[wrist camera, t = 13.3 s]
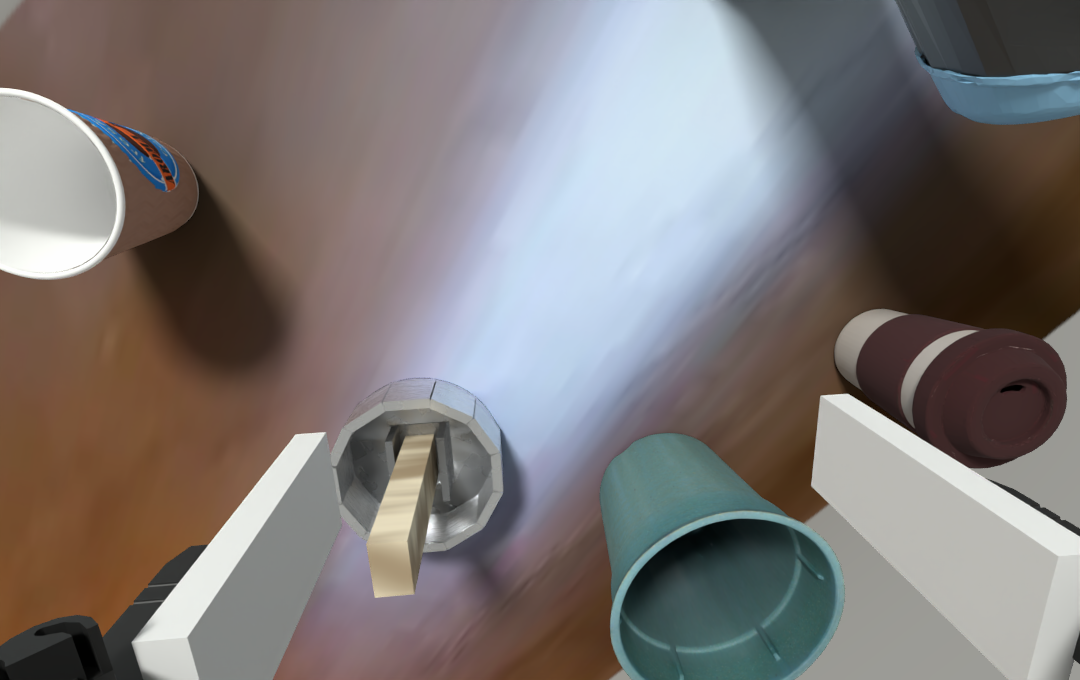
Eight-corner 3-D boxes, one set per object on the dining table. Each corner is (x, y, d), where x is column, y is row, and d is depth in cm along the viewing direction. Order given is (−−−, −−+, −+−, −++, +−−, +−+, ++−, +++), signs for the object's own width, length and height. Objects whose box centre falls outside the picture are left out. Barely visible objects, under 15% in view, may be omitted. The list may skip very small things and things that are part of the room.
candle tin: (333, 383, 48) (314, 406, 43) (496, 372, 48) (495, 393, 44) (356, 524, 52) (341, 559, 47) (506, 511, 52) (507, 545, 48)
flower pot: (780, 469, 53) (895, 588, 38) (671, 588, 56) (737, 743, 41) (651, 376, 50) (721, 466, 34) (542, 509, 53) (561, 646, 37)
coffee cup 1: (250, 181, 43) (159, 182, 31) (174, 280, 44) (60, 315, 33) (128, 81, 40) (-20, 42, 29) (52, 190, 42) (-117, 194, 30)
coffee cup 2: (877, 414, 52) (1021, 503, 38) (795, 368, 50) (914, 444, 36) (944, 324, 50) (1123, 383, 36) (862, 273, 48) (1016, 313, 34)
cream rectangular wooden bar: (405, 436, 49) (366, 544, 34) (434, 433, 49) (407, 540, 34) (410, 476, 50) (374, 597, 35) (438, 474, 50) (414, 594, 36)
